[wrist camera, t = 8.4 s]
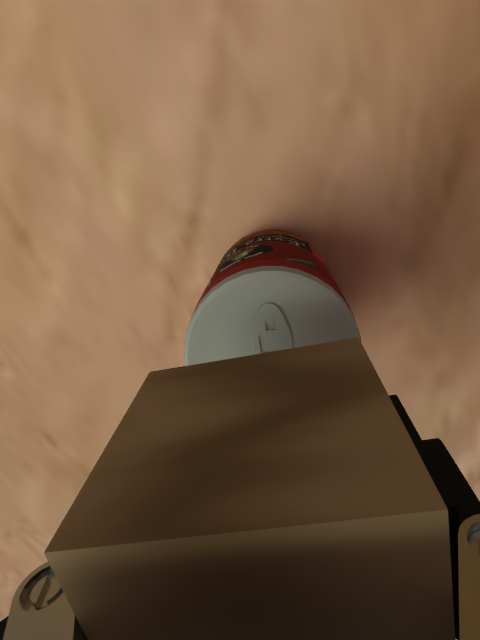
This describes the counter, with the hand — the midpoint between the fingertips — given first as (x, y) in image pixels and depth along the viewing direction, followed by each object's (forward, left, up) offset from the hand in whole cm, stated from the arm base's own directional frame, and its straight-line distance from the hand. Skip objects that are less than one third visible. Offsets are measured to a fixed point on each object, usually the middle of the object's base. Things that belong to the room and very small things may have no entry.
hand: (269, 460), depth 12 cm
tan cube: (0, 0, -1) cm, 1 cm away
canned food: (0, 0, -17) cm, 17 cm away
